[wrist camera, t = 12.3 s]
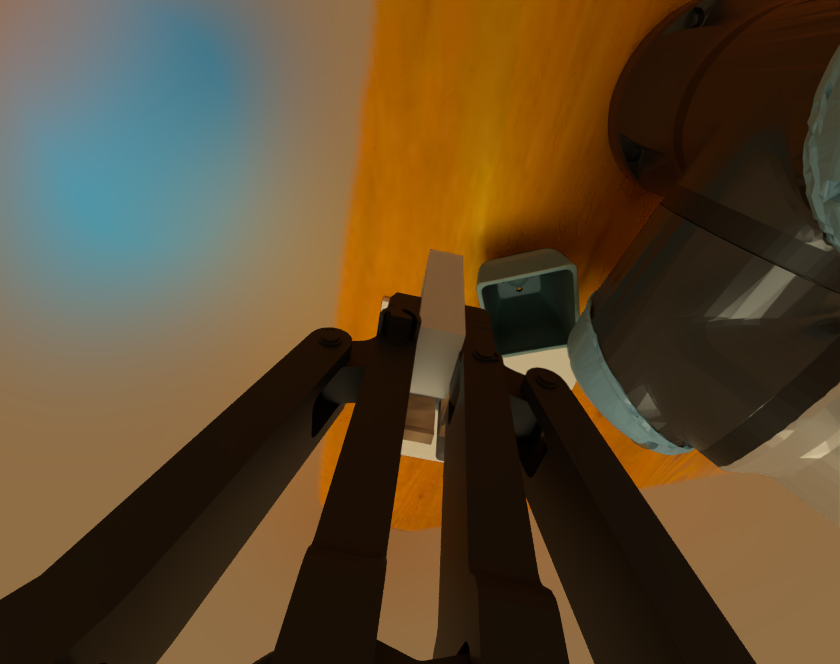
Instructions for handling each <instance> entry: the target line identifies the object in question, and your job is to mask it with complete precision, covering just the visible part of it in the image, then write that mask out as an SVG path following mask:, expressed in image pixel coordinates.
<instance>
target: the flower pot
mask: <svg viewBox="0 0 840 664" xmlns="http://www.w3.org/2000/svg"><path fill="white" fill-rule="evenodd" d="M518 287H521V290H520V291H518V290H517V288H518ZM476 290H477V295H478V299H479V303H480V308H481V309H485V311H486V312H487V313H488V314H489V316H490V318H491V326H492V332H493V339H494V345H495V350H497V351H498V352H499V353H500V354H501V356H502V358H506V357H512V356H518V355H524V354H529V353H535V352H540V351H547V350H553V349H559V348H567V342H568V338H569V335H570V332H571V330H572V329H573V327H574V326H575V324H576V322H577V321H578V319H579V318H580V312H579V293H578V271H577V266H576V265H575V264H573V263H572V262H571V261H570V260H569V259H568V258H566V257H565V256H564V255H563V254H562V253H560V252H559V251H557V250H555V249H550V248H545V249H538V250H534V251H530V252H525V253H521V254H516V255H511V256H507V257H502V258H497V259H492V260H489V261H486V262H484V263H483V264H482V265H481V267H480V269H479V273H478V279H477V286H476Z"/></svg>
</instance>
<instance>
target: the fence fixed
mask: <svg viewBox="0 0 840 664" xmlns="http://www.w3.org/2000/svg"><path fill="white" fill-rule="evenodd" d="M435 408H436V398H432V397H426V396H421V395H416V394H411V393H410V395H409V401H408V408H407V415H406V422H405V429H404V436H403V440H408V441H413V442H419V443H424V444H429V445H431V443H432V440H433V437H434V424H435ZM440 418H441V401H439V403H438V421H437V439H436V458H437V459H438V460H440V461H444V444H445V437H442V436H438V435H439V429H440Z"/></svg>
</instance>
